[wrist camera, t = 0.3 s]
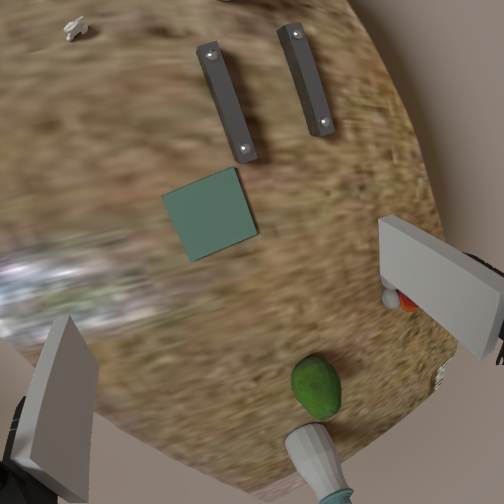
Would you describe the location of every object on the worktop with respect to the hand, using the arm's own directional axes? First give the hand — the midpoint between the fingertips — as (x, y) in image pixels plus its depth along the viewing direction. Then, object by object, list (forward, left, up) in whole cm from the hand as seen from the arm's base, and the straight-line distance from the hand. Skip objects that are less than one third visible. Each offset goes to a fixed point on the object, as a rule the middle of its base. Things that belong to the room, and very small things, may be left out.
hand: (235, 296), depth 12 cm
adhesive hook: (-24, -6, -28) cm, 37 cm away
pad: (+5, +1, -27) cm, 27 cm away
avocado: (+36, +6, -27) cm, 46 cm away
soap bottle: (+59, +1, -27) cm, 65 cm away
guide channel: (-7, +12, -27) cm, 30 cm away
